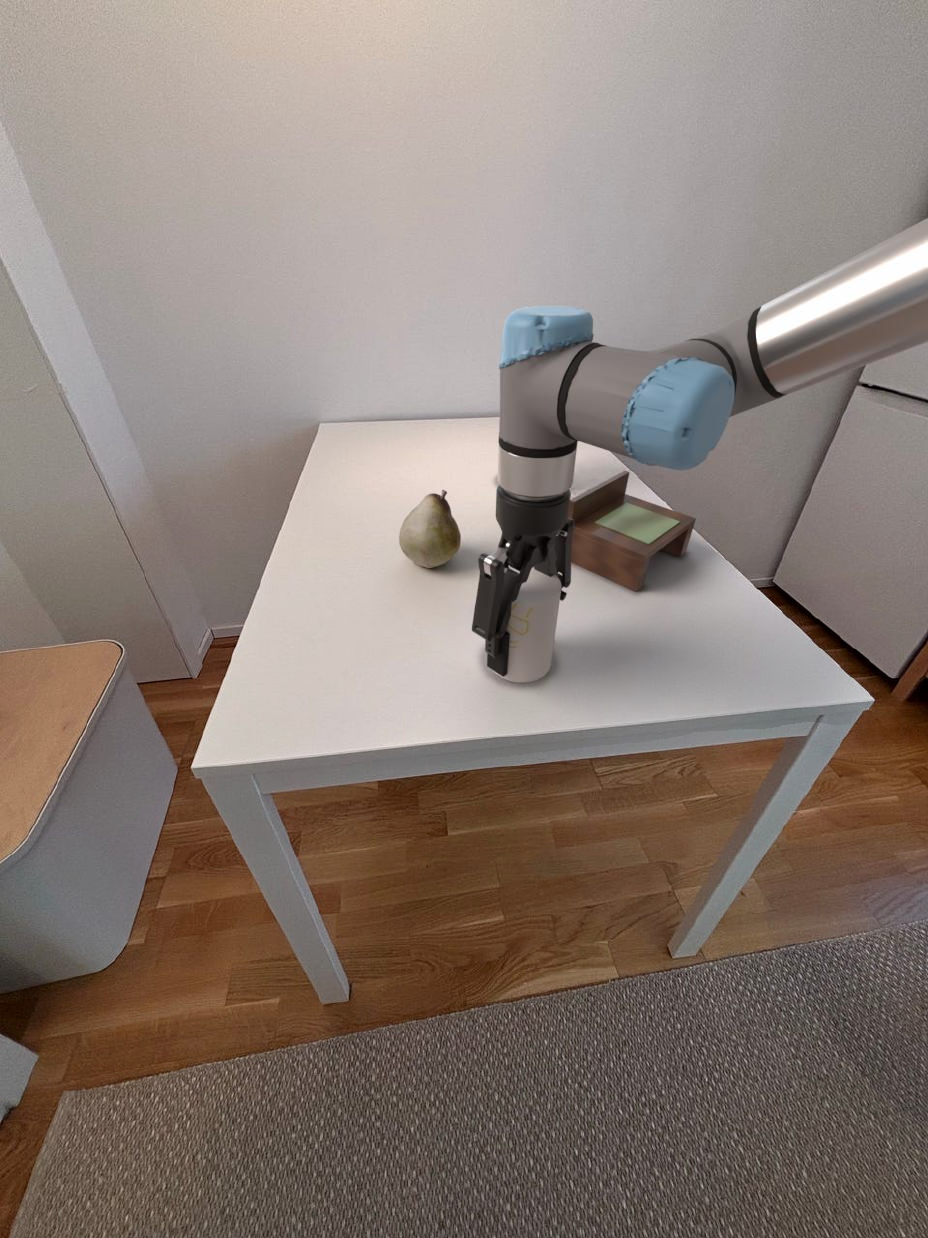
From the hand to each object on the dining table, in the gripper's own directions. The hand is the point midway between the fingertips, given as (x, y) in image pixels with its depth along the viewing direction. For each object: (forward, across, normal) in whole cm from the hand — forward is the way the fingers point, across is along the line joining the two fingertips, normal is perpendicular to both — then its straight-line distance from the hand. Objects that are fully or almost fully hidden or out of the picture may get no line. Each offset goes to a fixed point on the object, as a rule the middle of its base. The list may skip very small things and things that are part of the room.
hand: (520, 652), depth 66 cm
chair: (+1, -32, -4) cm, 32 cm away
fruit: (+1, -8, -26) cm, 27 cm away
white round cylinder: (+1, 0, 0) cm, 1 cm away
